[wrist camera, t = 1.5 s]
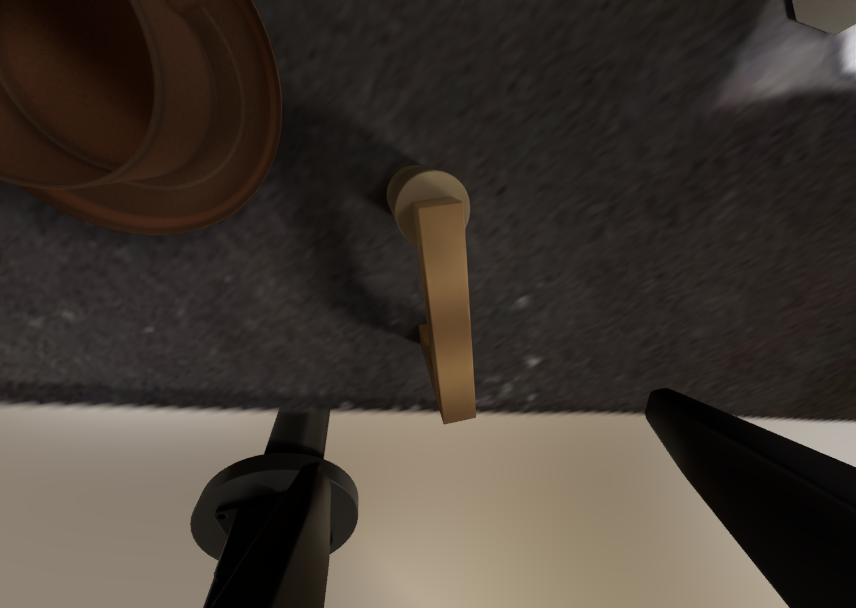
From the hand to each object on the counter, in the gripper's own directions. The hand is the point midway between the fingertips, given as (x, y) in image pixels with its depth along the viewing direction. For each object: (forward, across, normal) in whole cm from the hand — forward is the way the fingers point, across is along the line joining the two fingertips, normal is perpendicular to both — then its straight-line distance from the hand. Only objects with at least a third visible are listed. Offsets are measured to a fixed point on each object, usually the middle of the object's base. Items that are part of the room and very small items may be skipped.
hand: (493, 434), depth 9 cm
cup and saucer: (+12, +11, -10) cm, 20 cm away
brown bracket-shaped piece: (+12, 0, -1) cm, 12 cm away
